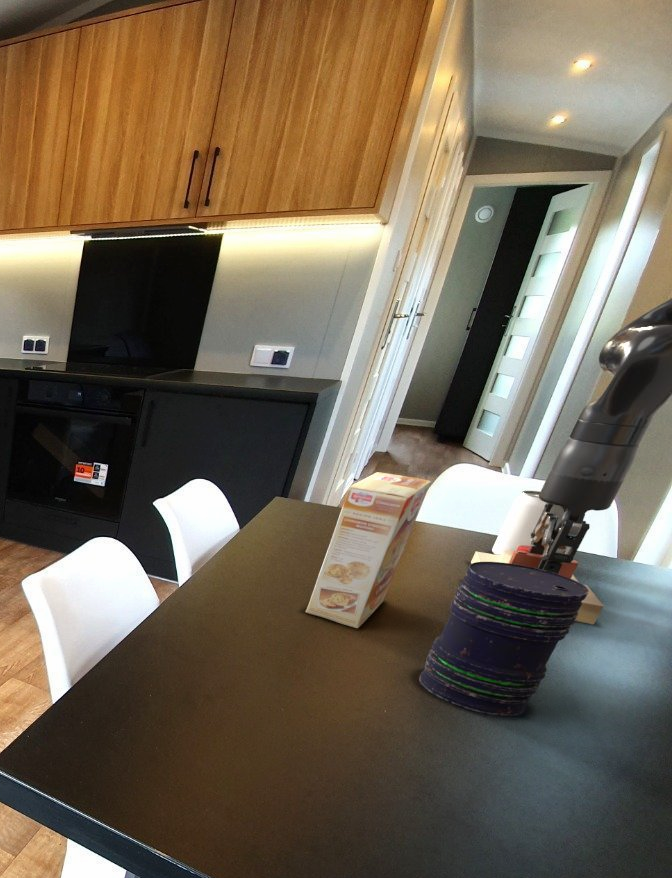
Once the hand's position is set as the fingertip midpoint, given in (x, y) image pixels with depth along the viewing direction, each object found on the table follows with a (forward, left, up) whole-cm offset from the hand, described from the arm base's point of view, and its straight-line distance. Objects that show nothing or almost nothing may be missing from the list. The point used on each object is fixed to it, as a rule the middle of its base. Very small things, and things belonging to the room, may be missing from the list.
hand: (535, 576), depth 99 cm
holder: (0, 0, -1) cm, 1 cm away
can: (-2, -27, -4) cm, 27 cm away
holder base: (0, 0, -4) cm, 4 cm away
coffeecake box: (+23, +21, -4) cm, 31 cm away
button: (-1, -13, -1) cm, 13 cm away
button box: (-1, -13, -4) cm, 14 cm away
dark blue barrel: (+10, +41, -4) cm, 42 cm away
